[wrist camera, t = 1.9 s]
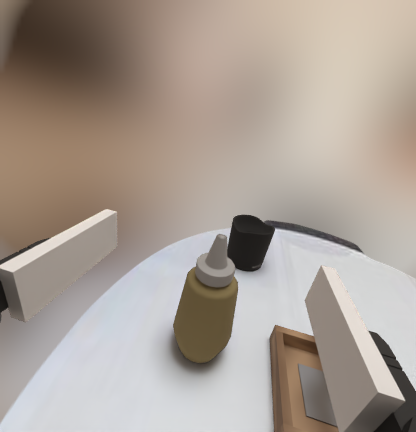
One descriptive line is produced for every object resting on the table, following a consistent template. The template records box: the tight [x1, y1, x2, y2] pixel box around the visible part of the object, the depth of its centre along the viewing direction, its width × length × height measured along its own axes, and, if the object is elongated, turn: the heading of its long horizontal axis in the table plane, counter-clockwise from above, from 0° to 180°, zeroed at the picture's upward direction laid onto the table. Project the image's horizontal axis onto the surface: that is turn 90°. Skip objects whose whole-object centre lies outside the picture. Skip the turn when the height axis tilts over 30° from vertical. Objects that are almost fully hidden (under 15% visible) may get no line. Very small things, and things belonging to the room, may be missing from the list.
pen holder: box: [227, 215, 275, 271], centre depth 50 cm, size 9×9×10 cm
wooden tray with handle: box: [270, 325, 339, 432], centre depth 26 cm, size 23×13×3 cm, turn 77°
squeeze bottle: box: [173, 234, 238, 363], centre depth 28 cm, size 8×8×18 cm
